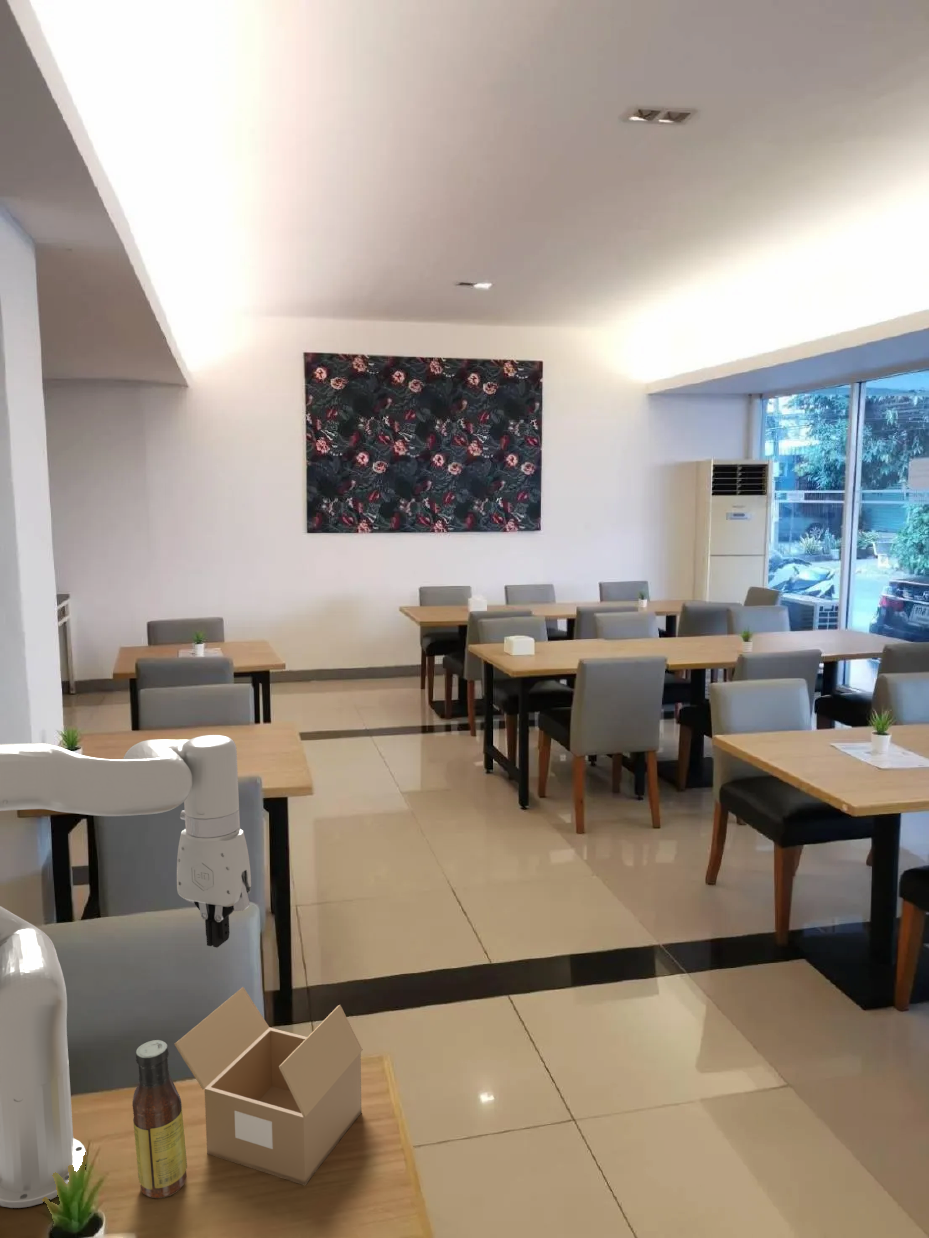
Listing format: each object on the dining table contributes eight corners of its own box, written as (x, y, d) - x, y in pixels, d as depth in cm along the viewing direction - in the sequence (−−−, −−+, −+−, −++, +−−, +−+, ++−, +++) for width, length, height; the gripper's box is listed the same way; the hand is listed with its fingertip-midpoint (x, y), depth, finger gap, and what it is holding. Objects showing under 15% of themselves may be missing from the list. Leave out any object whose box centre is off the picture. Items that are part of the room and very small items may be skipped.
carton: (206, 1154, 130) (204, 1088, 129) (271, 1086, 145) (269, 1027, 144) (304, 1185, 125) (303, 1117, 123) (361, 1112, 139) (360, 1050, 138)
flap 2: (360, 1050, 138) (362, 1049, 138) (303, 1117, 123) (305, 1116, 123) (338, 1005, 138) (340, 1004, 138) (278, 1066, 124) (280, 1065, 124)
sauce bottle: (194, 1168, 128) (188, 1035, 125) (176, 1203, 121) (169, 1063, 119) (149, 1165, 128) (142, 1032, 126) (128, 1199, 122) (120, 1060, 119)
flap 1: (204, 1088, 129) (202, 1089, 129) (269, 1027, 144) (267, 1028, 144) (175, 1042, 130) (174, 1043, 130) (243, 986, 145) (241, 987, 145)
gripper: (152, 824, 132) (159, 945, 135) (241, 838, 127) (246, 963, 129) (186, 807, 139) (191, 922, 142) (271, 820, 134) (276, 939, 136)
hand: (218, 942), depth 135 cm, fingers closed
